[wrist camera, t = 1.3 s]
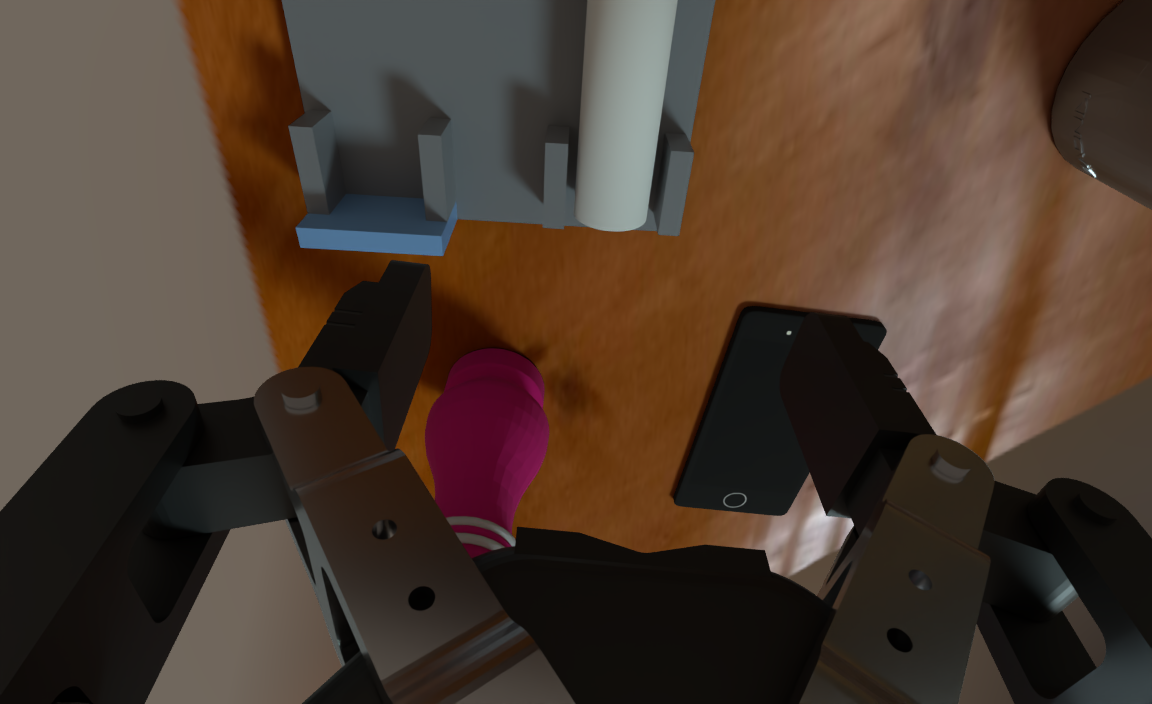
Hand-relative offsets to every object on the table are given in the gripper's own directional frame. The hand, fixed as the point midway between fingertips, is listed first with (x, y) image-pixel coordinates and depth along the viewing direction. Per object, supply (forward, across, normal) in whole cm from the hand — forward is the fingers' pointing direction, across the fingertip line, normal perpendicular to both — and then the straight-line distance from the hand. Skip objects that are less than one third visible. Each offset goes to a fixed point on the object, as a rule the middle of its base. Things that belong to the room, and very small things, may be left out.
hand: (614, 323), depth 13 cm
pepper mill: (+19, +4, +19) cm, 27 cm away
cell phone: (+20, -14, +20) cm, 31 cm away
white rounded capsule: (+18, -1, -3) cm, 18 cm away
